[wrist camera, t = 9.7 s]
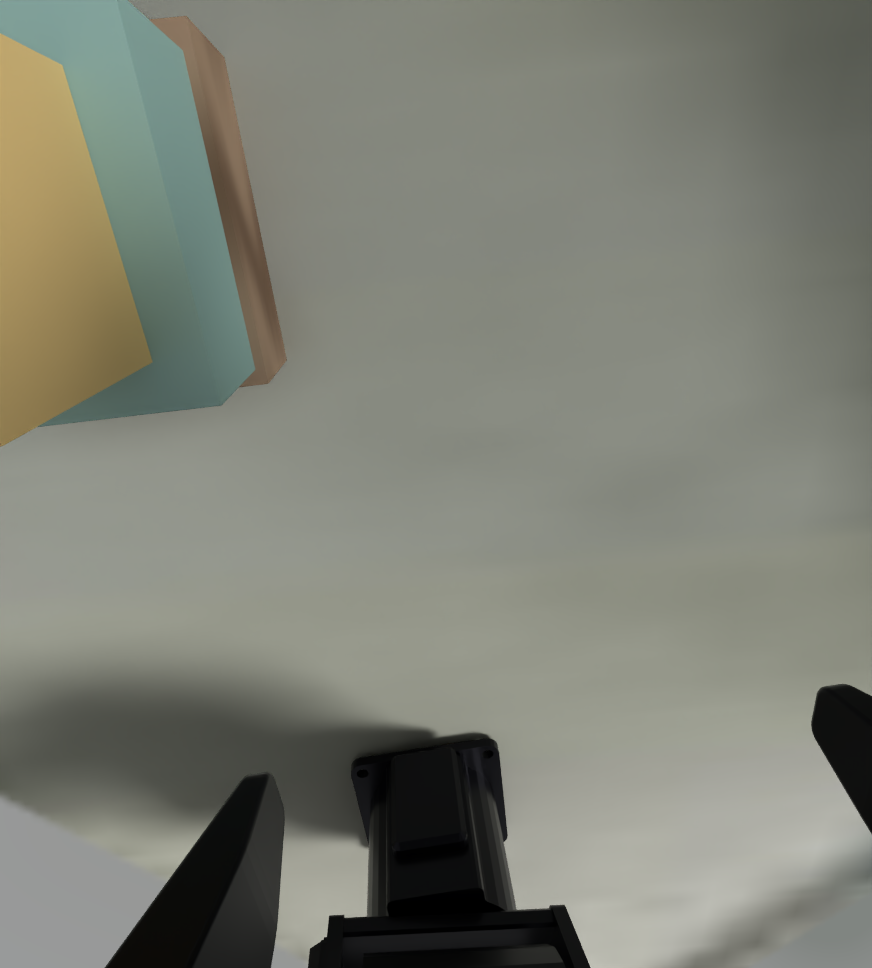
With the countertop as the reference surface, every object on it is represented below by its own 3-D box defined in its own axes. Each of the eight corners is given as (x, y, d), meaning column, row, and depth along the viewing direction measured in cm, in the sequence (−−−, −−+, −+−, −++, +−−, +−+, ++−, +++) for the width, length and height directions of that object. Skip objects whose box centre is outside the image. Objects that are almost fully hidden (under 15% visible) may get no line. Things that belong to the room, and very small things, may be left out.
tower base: (288, 357, 19) (268, 383, 16) (38, 386, 18) (-34, 419, 15) (227, 60, 15) (186, 16, 12) (-77, 91, 15) (-199, 53, 12)
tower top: (255, 369, 15) (221, 405, 12) (-12, 400, 15) (-120, 445, 12) (183, 50, 12) (112, -13, 9) (-148, 82, 12) (-336, 28, 9)
